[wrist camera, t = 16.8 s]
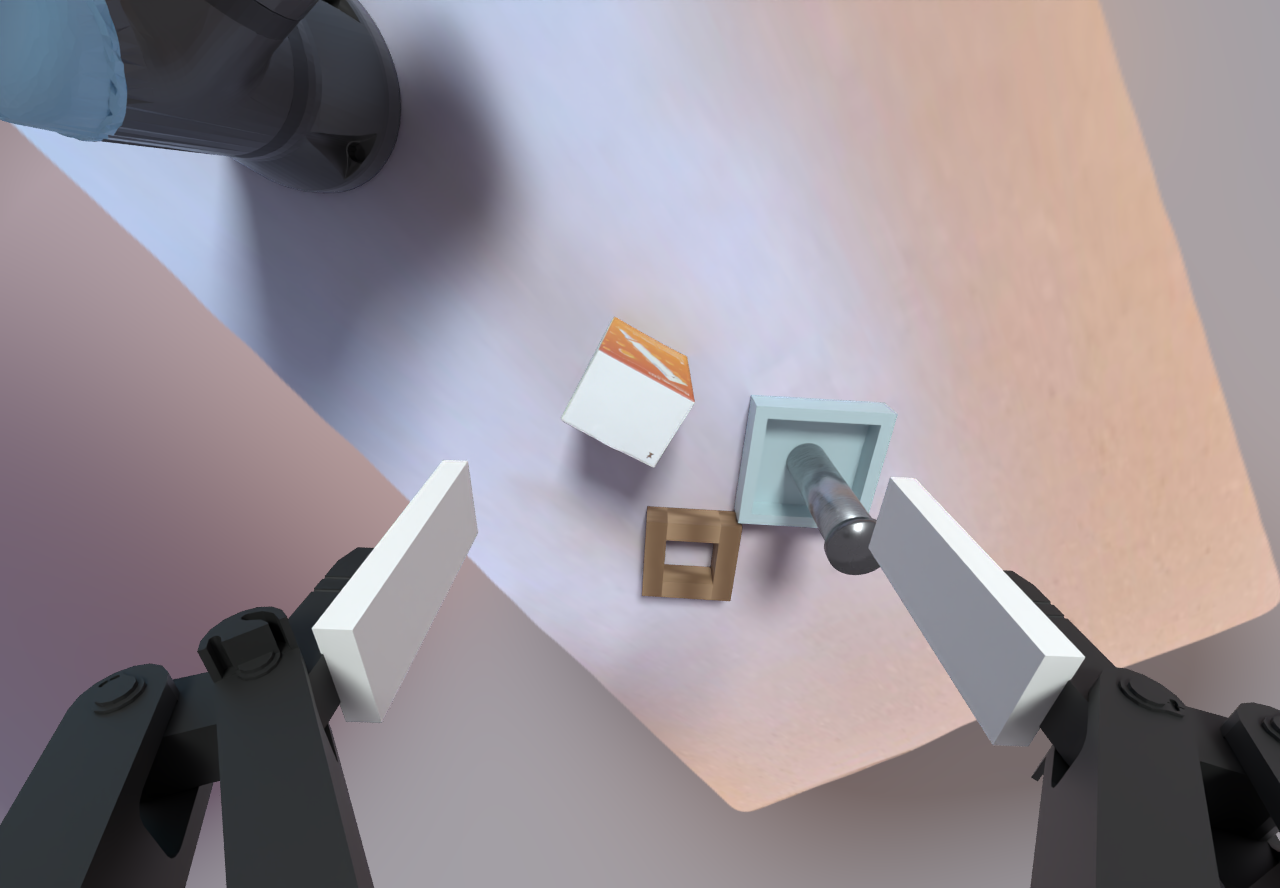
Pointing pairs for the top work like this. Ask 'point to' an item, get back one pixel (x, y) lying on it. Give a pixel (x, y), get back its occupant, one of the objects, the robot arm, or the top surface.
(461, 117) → the top surface
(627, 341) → the small box
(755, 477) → the tray
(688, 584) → the socket block
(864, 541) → the pin
